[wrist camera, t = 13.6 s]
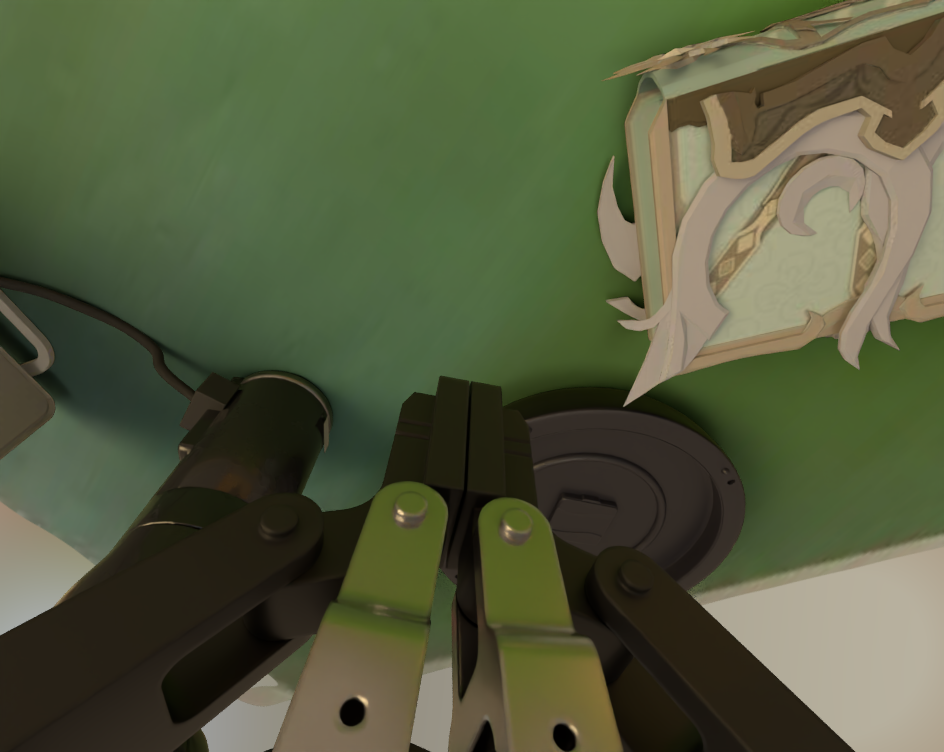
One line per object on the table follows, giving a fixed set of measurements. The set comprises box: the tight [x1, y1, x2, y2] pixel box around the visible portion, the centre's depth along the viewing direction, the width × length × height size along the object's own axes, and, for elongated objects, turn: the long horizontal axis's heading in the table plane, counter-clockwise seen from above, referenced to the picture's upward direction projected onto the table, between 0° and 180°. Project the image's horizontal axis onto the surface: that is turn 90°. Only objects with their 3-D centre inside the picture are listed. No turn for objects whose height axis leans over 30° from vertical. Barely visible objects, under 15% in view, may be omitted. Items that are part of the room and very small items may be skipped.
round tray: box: [440, 387, 745, 591], centre depth 48 cm, size 30×6×30 cm
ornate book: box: [597, 0, 944, 407], centre depth 30 cm, size 23×10×30 cm
